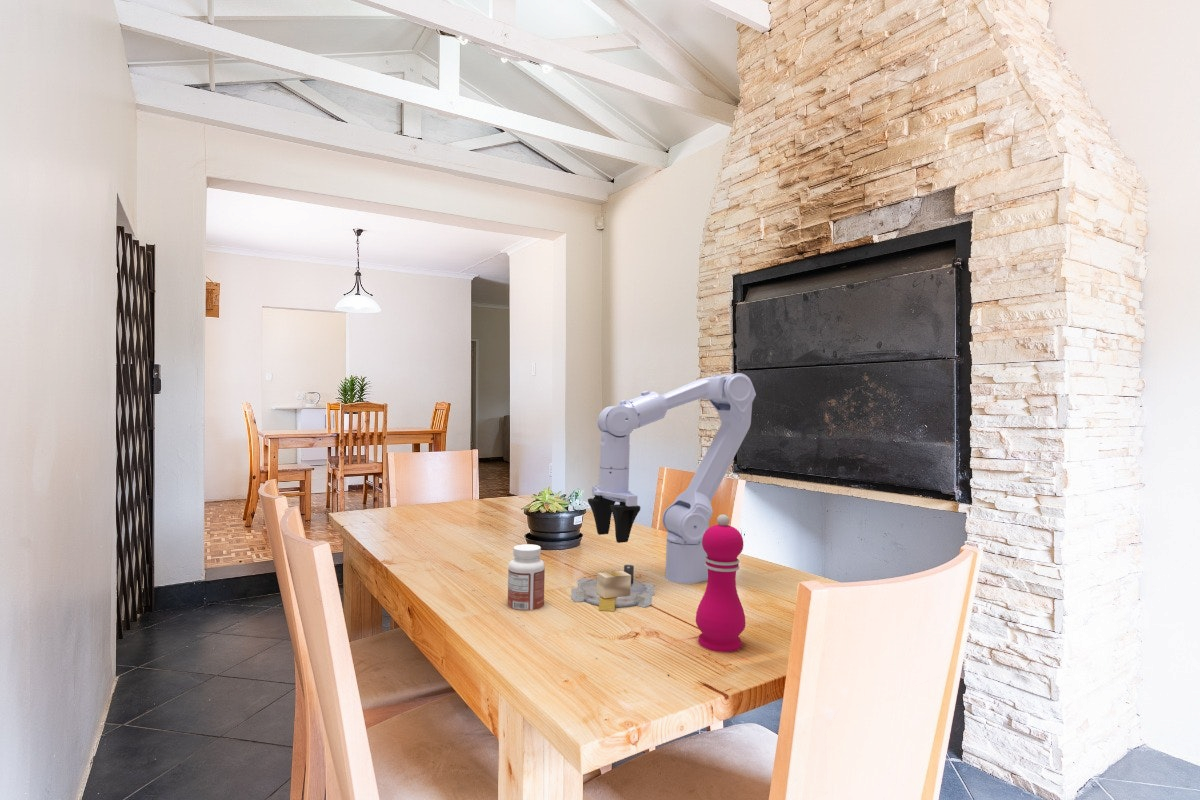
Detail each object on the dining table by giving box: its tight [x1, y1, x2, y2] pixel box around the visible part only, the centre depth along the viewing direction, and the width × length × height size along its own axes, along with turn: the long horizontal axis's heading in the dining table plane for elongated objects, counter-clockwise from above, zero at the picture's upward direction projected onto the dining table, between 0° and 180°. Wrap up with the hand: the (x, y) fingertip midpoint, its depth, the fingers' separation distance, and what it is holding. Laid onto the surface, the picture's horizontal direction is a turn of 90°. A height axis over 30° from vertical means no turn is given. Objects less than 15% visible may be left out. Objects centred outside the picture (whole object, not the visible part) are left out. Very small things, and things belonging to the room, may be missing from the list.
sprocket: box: [570, 564, 655, 612], centre depth 113 cm, size 16×14×5 cm
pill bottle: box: [507, 543, 546, 611], centre depth 108 cm, size 6×6×11 cm
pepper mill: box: [695, 513, 746, 653], centre depth 93 cm, size 7×7×20 cm
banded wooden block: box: [596, 570, 631, 598], centre depth 109 cm, size 5×3×4 cm, turn 118°
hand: (612, 538), depth 122 cm, fingers open, 7 cm apart
